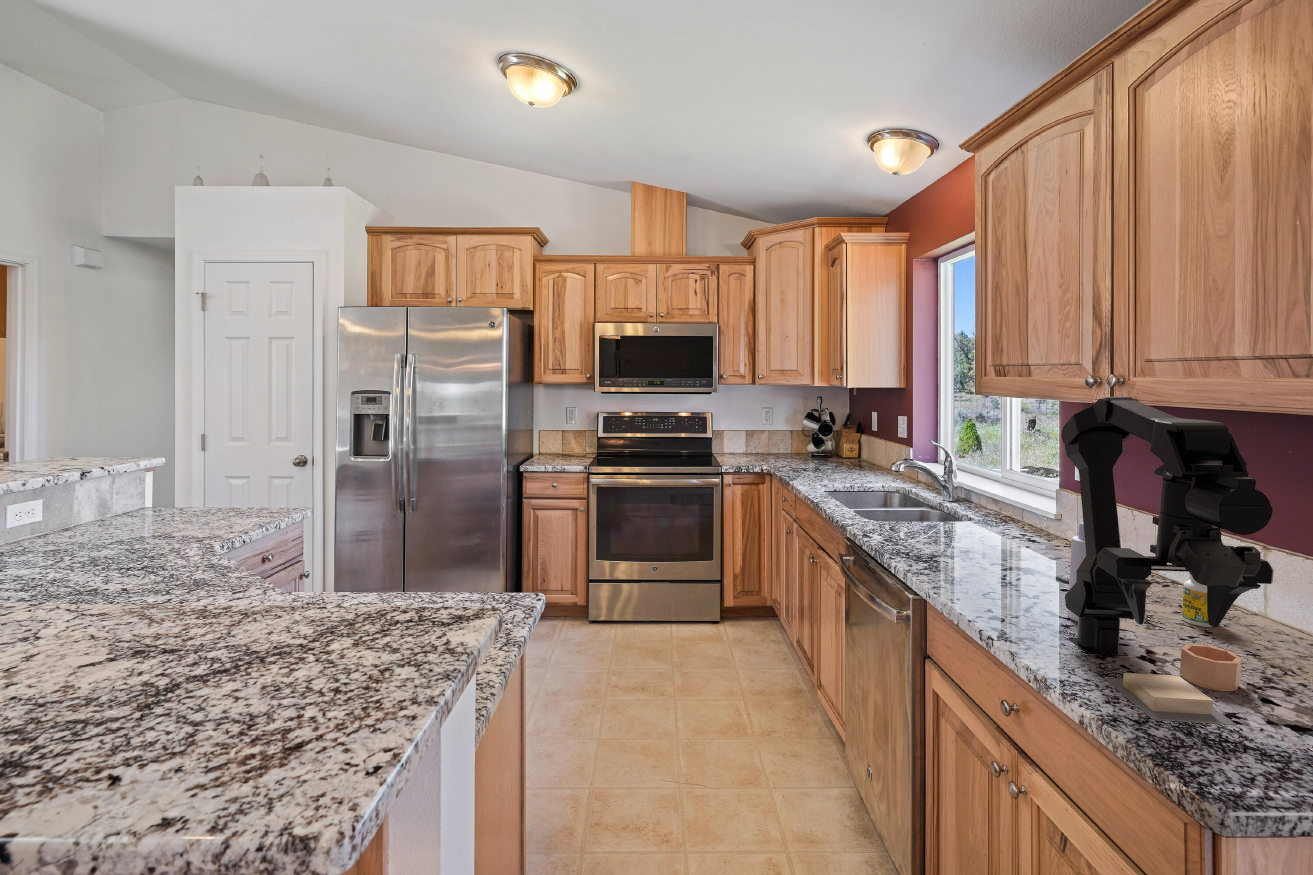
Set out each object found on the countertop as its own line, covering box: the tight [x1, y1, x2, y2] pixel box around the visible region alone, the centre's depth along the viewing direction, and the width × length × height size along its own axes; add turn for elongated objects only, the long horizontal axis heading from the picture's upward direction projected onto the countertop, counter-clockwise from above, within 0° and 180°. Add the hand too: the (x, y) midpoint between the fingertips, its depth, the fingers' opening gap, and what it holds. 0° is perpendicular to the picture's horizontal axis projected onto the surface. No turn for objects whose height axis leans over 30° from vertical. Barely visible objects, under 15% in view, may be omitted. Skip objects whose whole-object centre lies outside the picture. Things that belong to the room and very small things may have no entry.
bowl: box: [1179, 643, 1243, 692], centre depth 96 cm, size 6×6×5 cm
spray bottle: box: [1067, 521, 1086, 623], centre depth 121 cm, size 6×6×22 cm
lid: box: [1122, 672, 1214, 714], centre depth 91 cm, size 7×7×2 cm
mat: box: [1103, 677, 1237, 726], centre depth 91 cm, size 12×10×1 cm
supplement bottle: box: [1181, 572, 1213, 628], centre depth 119 cm, size 5×5×10 cm
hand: (1175, 624), depth 89 cm, fingers open, 9 cm apart
